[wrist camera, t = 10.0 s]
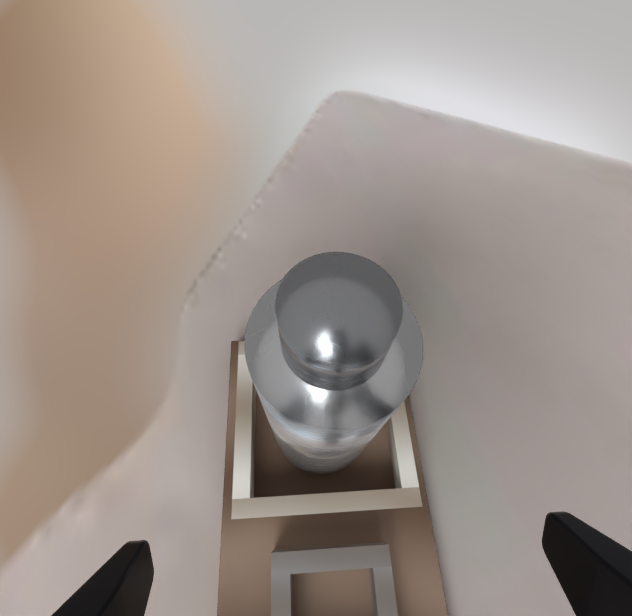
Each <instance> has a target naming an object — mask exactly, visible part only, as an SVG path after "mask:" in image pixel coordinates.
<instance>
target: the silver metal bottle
mask: <svg viewBox="0 0 632 616" xmlns="http://www.w3.org/2000/svg"><path fill="white" fill-rule="evenodd" d="M244 351H245V358H246V363H247V367H248V370H249V373H250V376H251V378H252V381H253V383H254V386H255V388H256V391H257V393H258V396H259V398H260V401H261V403H262V406H263V408H264V411H265V413H266V416H267V419H268V421H269V424H270V426H271V429H272V431H273V434H274V436H275V439H276V441H277V444H278V446H279V448H280V450H281V452H282V453H283V455H284V456H285V457H286V459H287V460H288V461H289V462H291V463H292V464H293V465H294V466H296V467H297V468H299V469H301V470H303V471H305V472H308V473H312V474H330V473H335V472H337V471H340V470H342V469H344V468H345V467H347V466H348V465H350V464H351V463H352V462H353V461H354V460H355V459H356V458H357V457H358V456H359V454H360V453H361V452H362V451H363V450H364V448H365V447H366V446H367V445H368V444H369V442H370V441H371V440H372V439H373V438H374V436H375V435H376V434H377V433H378V431H379V430H380V429H381V428H382V427H383V425H384V424H385V423H386V422H387V421H388V419H389V418H390V417H391V416H392V415H393V413H394V412H395V411H396V410H397V409H398V407H399V406H400V405H401V404H402V403H403V401H404V400H405V399H406V398H407V396H408V395H409V393H410V392H411V391H412V389H413V387H414V385H415V383H416V381H417V379H418V376H419V373H420V370H421V365H422V360H423V343H422V336H421V332H420V328H419V325H418V322H417V320H416V317H415V316H414V314H413V312H412V310H411V308H410V307H409V306H408V304H407V303H406V301H405V300H404V299H403V298H402V297H401V295H400V292H399V289H398V287H397V285H396V284H395V282H394V281H393V279H392V278H391V276H390V275H389V274H388V273H387V272H386V271H385V270H384V269H382V268H381V267H380V266H379V265H377V264H376V263H374V262H372V261H371V260H369V259H367V258H364V257H362V256H359V255H355V254H351V253H345V252H328V253H322V254H318V255H314V256H312V257H309V258H307V259H305V260H303V261H301V262H300V263H298V264H297V265H295V266H294V267H293V268H292V269H291V270H290V271H289V272H288V273H287V274H286V275H285V277H284V278H283V279H282V280H280V281H279V282H278V283H276V284H275V285H273V286H272V287H271V288H270V289H269V290H268V291H267V292H266V293H265V294H264V295H263V296H262V298H261V299H260V300H259V301H258V303H257V305H256V306H255V308H254V309H253V311H252V314H251V316H250V318H249V321H248V324H247V327H246V333H245V341H244Z"/></svg>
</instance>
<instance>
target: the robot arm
mask: <svg viewBox="0 0 632 616" xmlns="http://www.w3.org/2000/svg"><path fill="white" fill-rule="evenodd" d="M542 546H543V549H544V552H545V554H546V556H547V558H548V560H549V562H550V564H551V566H552V568H553V570H554V572H555V574H556V576H557V578H558V580H559V582H560V584H561V586H562V588H563V590H564V592H565V594H566V596H567V598H568V600H569V602H570V604H571V606H572V608H573V610H574V612H575V614H576V616H632V551H630V550H629V549H627V548H625V547H624V546H622V545H620V544H619V543H617V542H615V541H614V540H612V539H611V538H609V537H607V536H606V535H604V534H602V533H601V532H599V531H598V530H596V529H594V528H593V527H591V526H589V525H588V524H586V523H584V522H583V521H581V520H580V519H578V518H576V517H575V516H573V515H571V514H570V513H567V512H550V513H548V514H547V516H546V519H545V525H544V531H543V537H542ZM153 575H154V568H153V562H152V557H151V552H150V546H149V543H148V542H147V541H145V540H140V541H129V542H127V543H126V544H125V545H123V546H122V547H121V548H120V549H119V550H118V551H117V552H116V553H115V554H114V555H113V556H112V557H111V558H110V559H109V560H108V561H107V562H106V563H105V564H104V565H103V566H102V567H101V568H100V569H99V570H98V571H97V572H96V573H95V574H94V575H93V576H92V577H91V578H89V579H88V580H87V581H86V582H85V583H84V584H83V585H82V586H81V587H80V588H79V589H78V590H77V591H76V592H75V593H74V594H73V595H72V596H71V597H70V598H69V599H68V600H67V601H66V602H65V603H64V604H63V605H62V606H61V607H60V608H59V609H58V610H57V611H56V612H55V613H53V614H52V615H51V616H144V614H145V610H146V606H147V602H148V598H149V594H150V590H151V586H152V582H153Z"/></svg>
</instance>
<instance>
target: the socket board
mask: <svg viewBox="0 0 632 616" xmlns="http://www.w3.org/2000/svg"><path fill="white" fill-rule="evenodd" d="M217 616H448V613H447V607H446V601H445V596H444V590H443V585H442V579H441V574H440V568H439V562H438V557H437V551H436V546H435V540H434V535H433V529H432V523H431V518H430V512H429V507H428V501H427V495H426V490H425V484H424V479H423V473H422V468H421V462H420V456H419V451H418V445H417V440H416V434H415V429H414V423H413V417H412V412H411V406H410V401H409V395H408V396H407V398H406V399H405V400H404V401H403V403H402V404H401V405H400V406H399V407H398V409H397V410H396V411H395V412H394V413H393V415H392V416H391V417H390V418H389V419H388V421H387V422H386V423H385V424H384V425H383V427H382V428H381V429H380V430H379V431H378V433H377V434H376V435H375V436H374V438H373V439H372V440H371V441H370V442H369V444H368V445H367V446H366V447H365V448H364V450H363V451H362V452H361V453H360V454H359V456H358V457H357V458H356V459H355V460H354V461H353V462H352V463H351V464H350V465H348V466H347V467H345V468H344V469H342V470H340V471H337V472H335V473H330V474H312V473H308V472H305V471H303V470H301V469H299V468H297V467H296V466H294V465H293V464H292V463H291V462H289V461H288V460H287V459H286V457H285V456H284V455H283V453H282V452H281V450H280V448H279V446H278V444H277V441H276V439H275V436H274V434H273V431H272V429H271V426H270V424H269V421H268V419H267V416H266V413H265V411H264V408H263V406H262V403H261V401H260V398H259V396H258V393H257V391H256V388H255V386H254V383H253V381H252V378H251V376H250V373H249V370H248V367H247V363H246V358H245V351H244V341H232V342H231V361H230V380H229V399H228V418H227V437H226V456H225V475H224V494H223V512H222V531H221V550H220V569H219V588H218V607H217Z"/></svg>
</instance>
